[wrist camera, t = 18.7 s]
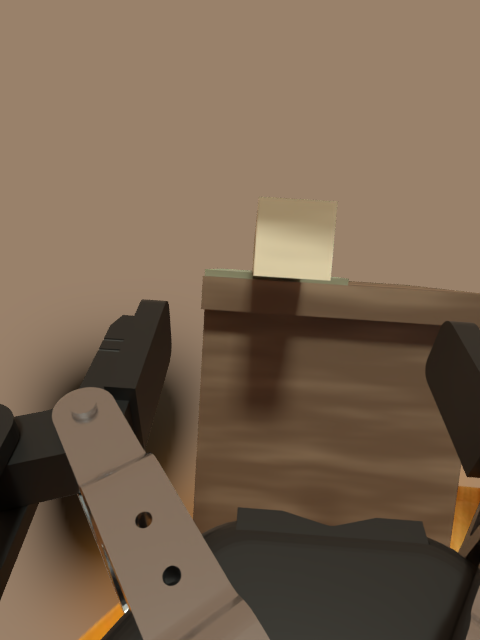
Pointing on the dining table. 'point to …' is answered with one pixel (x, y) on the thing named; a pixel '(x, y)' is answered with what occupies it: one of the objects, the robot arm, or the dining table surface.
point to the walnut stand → (324, 401)
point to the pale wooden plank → (294, 238)
